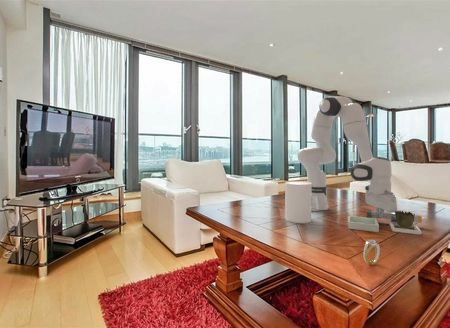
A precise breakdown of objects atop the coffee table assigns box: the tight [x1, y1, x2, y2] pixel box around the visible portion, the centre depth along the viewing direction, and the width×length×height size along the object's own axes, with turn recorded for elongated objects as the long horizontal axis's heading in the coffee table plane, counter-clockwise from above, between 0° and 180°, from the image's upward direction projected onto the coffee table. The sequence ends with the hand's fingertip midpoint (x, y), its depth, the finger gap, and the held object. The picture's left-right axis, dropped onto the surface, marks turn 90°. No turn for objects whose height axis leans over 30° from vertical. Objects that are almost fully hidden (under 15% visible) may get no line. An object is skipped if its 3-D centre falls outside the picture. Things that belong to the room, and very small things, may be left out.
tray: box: [347, 215, 380, 233], centre depth 120 cm, size 12×12×3 cm
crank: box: [366, 209, 423, 224], centre depth 123 cm, size 22×6×4 cm, turn 60°
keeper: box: [389, 221, 422, 235], centre depth 115 cm, size 10×10×2 cm
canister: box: [284, 180, 312, 224], centre depth 133 cm, size 14×14×20 cm
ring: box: [362, 239, 381, 266], centre depth 81 cm, size 7×3×8 cm, turn 113°
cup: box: [395, 210, 416, 229], centre depth 114 cm, size 8×7×8 cm
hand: (379, 216), depth 124 cm, fingers closed
